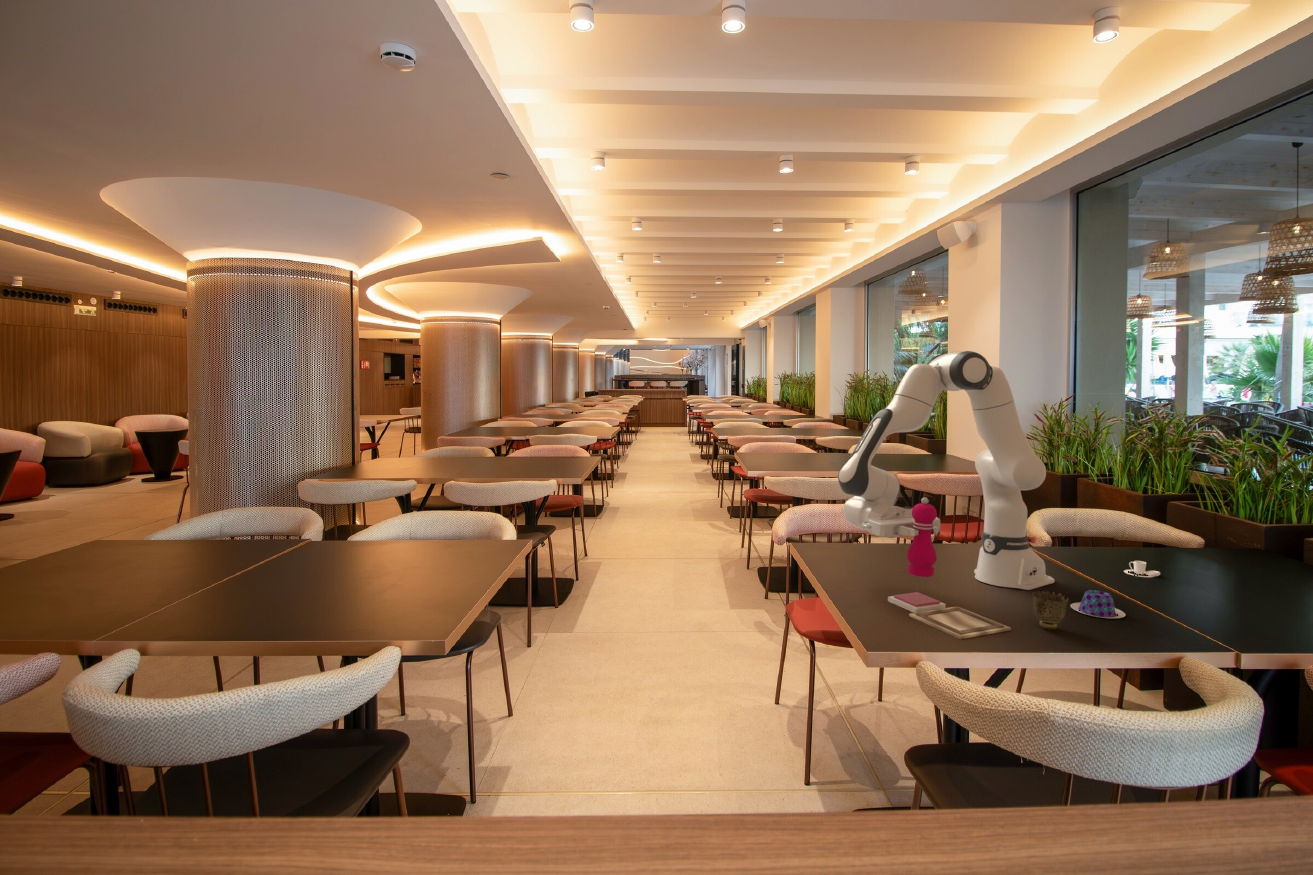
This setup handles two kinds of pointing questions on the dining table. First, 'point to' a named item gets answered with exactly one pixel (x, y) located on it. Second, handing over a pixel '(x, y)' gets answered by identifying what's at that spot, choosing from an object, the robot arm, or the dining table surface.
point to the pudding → (1098, 605)
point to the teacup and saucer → (1142, 569)
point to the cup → (1049, 608)
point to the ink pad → (916, 602)
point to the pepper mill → (922, 541)
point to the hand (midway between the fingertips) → (926, 532)
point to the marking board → (959, 622)
